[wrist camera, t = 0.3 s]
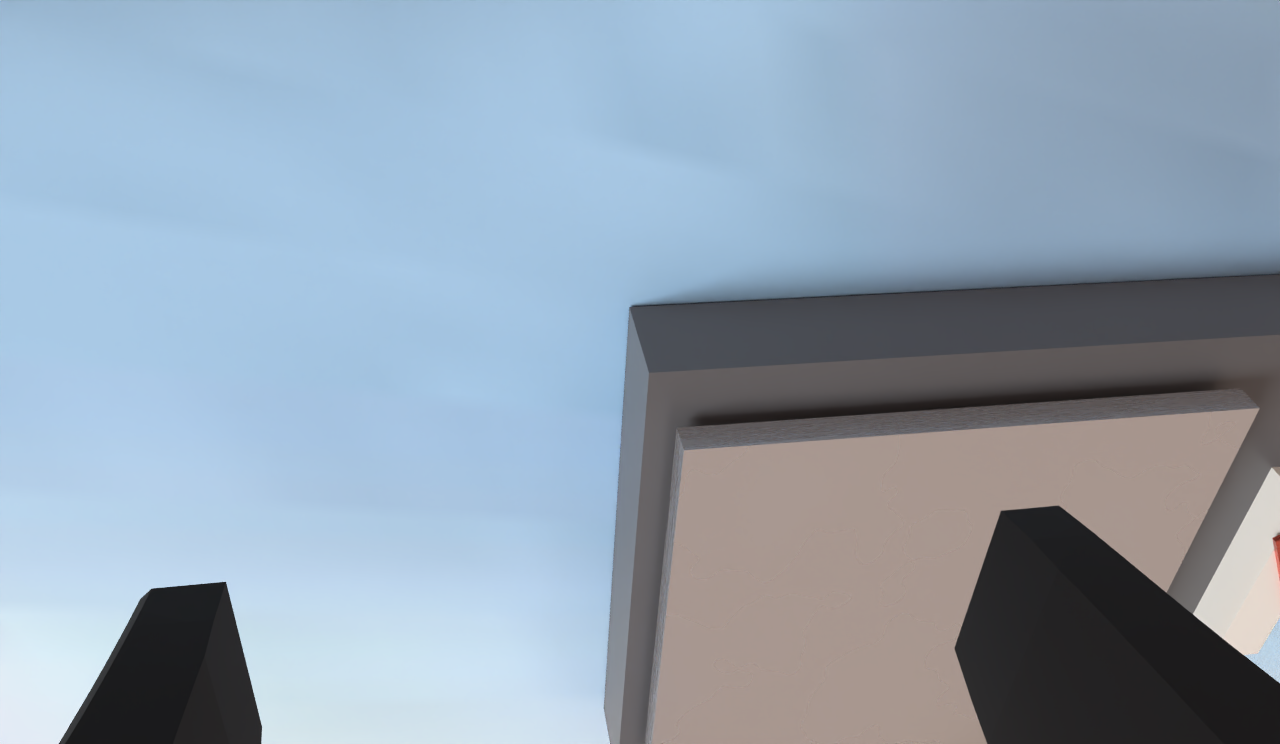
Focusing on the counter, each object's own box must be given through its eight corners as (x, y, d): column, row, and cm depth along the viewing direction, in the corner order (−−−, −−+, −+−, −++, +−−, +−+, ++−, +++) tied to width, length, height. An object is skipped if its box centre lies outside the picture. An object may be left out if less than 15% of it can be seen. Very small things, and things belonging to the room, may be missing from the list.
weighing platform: (1084, 710, 27) (1096, 730, 27) (642, 764, 25) (647, 787, 25) (1240, 388, 21) (1259, 407, 21) (676, 427, 19) (684, 449, 19)
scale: (1150, 647, 30) (1216, 746, 28) (603, 708, 28) (624, 823, 25) (1344, 271, 23) (1455, 361, 21) (629, 307, 21) (661, 414, 18)
